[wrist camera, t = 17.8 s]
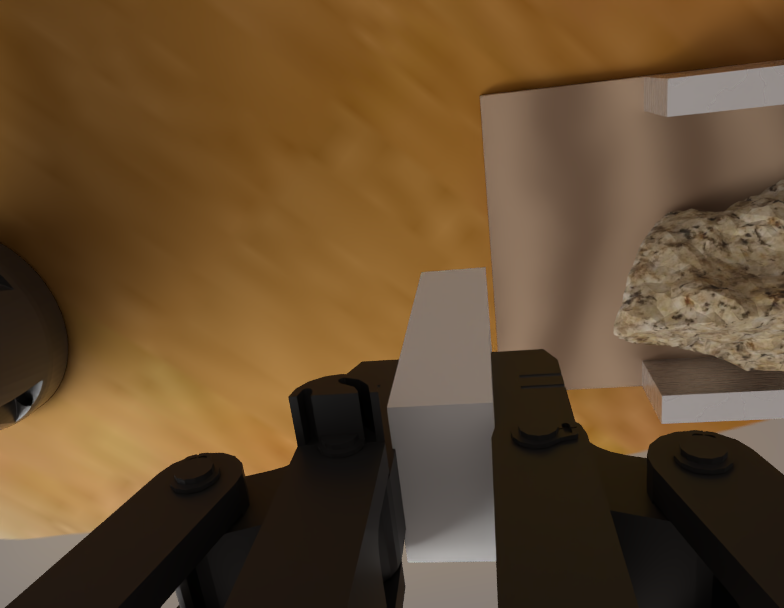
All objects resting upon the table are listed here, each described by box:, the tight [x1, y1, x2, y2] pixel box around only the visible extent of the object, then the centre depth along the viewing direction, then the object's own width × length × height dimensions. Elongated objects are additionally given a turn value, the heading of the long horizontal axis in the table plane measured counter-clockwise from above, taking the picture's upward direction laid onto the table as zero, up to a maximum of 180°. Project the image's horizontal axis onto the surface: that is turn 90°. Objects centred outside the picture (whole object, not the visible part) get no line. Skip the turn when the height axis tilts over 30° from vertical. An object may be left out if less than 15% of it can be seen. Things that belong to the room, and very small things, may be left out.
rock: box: [613, 180, 784, 371], centre depth 36 cm, size 11×12×10 cm
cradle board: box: [480, 60, 784, 390], centre depth 40 cm, size 22×19×1 cm
